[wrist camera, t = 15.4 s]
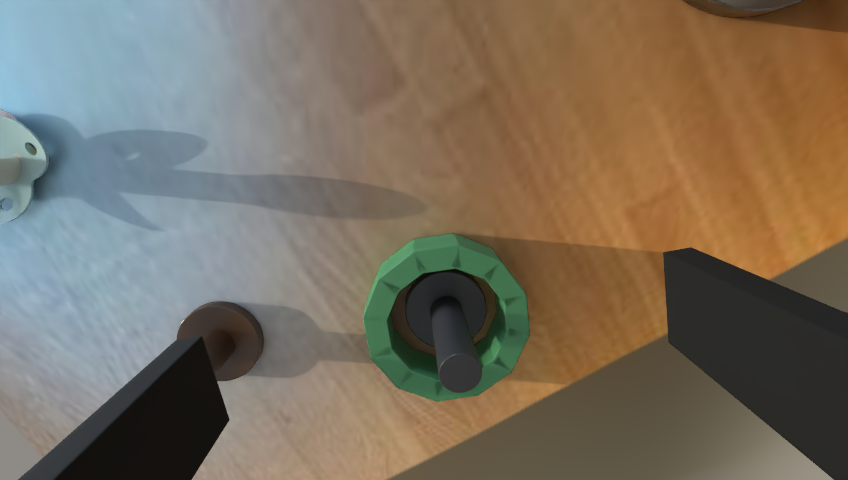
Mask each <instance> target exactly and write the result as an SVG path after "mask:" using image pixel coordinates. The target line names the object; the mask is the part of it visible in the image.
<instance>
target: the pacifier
mask: <svg viewBox="0 0 848 480" xmlns="http://www.w3.org/2000/svg"><path fill="white" fill-rule="evenodd" d="M29 143H31V144H33V145H34V146H35V148H36V150H37V152H36V151H35V149H34V148H33V147H32V146H31V145H29ZM48 166H49V155H48V152H47V150H46V147H45V146H44V144H43V142H42V141H41V140H40V139H39V137H38V136H37V135H36V134H35V133H34V132H33V131H31V130H30V129H29V128H28V127H26V126H25V125H23V124H22V123H20V122H19V121H18V120H17V119H16V118H15V117H13V116H12V115H11V114H10V113H8V112H5V111H2V110H0V224H2V223H6V222H9V221H12V220H14V219H16V218H18V217H19V216H21V215H22V214H23V213H24V212H25V211H26V210H27V209H28V207H29V206H30V204H31V202H32V199H33V194H34V187H33V184H34V181H35V180H36V179H37V178H39V177H41V176H42V175H43V174H44V173H45V172H46V170H47V169H48ZM6 198H9V199H11V200H12V202H13V205H12V207H11V209H10V210H8V211H6V210H4V209H3V208H2V202H3V200H4V199H6Z"/></svg>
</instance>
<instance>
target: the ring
mask: <svg viewBox="0 0 848 480" xmlns="http://www.w3.org/2000/svg"><path fill="white" fill-rule="evenodd" d="M450 269H458V270H461V271H464V272H466V273H469V274H472V275H474V276H477V277H479V278H482V279H485V280H486V281H487V283H488V284H489V285H490V287H491V288H492V289H493V290H494V292H495V300H496V309H497V313H496V315H495V318H494V320H493V322H492V324H491V326H490V328H489V331H488V333H487V335H486V337H485V338H483V339H482V340H480V341H479V342H478V343H476V344H475V345H474V346H475V349H476V352H477V355H478V358H479V361H480V364H481V367H482V377H481V380H480V382H479V383H478V385H477V386H476V387H475V388H473V389H472V390H470V391H467V392H464V393H456V392H452V391H450V390H448V389H446V388H445V387H444V386H443V385H442V383H441V382H440V379H439V374H438V367H437V360H436V357H435V356H432V355H430V354H427V353H424V352H421V351H418V350H415V349H412V348H410V346H409V345H408V344H407V343H406V342H405V341H404V339H403V338H402V337H401V336H400V335H399V334H398V333H397V331H396V330H395V329H394V328H393V322H392V317H391V310H392V307H393V305H394V303H395V300H396V298H397V295H398V293H399V292H400V291H401V290H402V289H404V288H405V287H406V286H408V285H409V284H410V283H412V282H413V281H414V280H415V279H417V278H418V277H419V276H421V275H422V274H423V273H429V272H436V271H443V270H450ZM363 321H364V327H365V332H366V338H367V343H368V349H369V354H370V358H371V359H372V360H373V361H374V363H375V364H376V365H377V366H378V367H379V368H380V369H381V370H382V371H383V373H384V374H385V375H386V376H387V377H388V378H389V379H390V380H391V381H392V383H393V384H394V385H395V386H396V387H397V388H399V389H402V390H405V391H408V392H411V393H414V394H417V395H420V396H422V397H425V398H428V399H431V400H434V401H443V400H450V399H457V398H464V397H470V396H477V395H479V394H481V393H482V392H484V391H485V390H486V389H488V388H489V387H491V386H492V385H493V384H495V383H496V382H498V381H499V380H501V379H502V378H503V377H505V376H506V375H508V374H509V373H510V372H512V371H513V368H514V366H515V364H516V362H517V360H518V358H519V356H520V354H521V352H522V350H523V348H524V346H525V344H526V342H527V340H528V338H529V336H530V329H529V319H528V308H527V297H526V293H525V291H524V290H523V289H522V287H521V286H520V285H519V283H518V282H517V281H516V279H515V278H514V277H513V276H512V274H511V273H510V272H509V270H508V269H507V268H506V266H505V265H504V264H503V263H502V261H501V260H500V259H499V257H498V256H497V255H496V254H495V252H494V251H493V250H492V248H490V247H488V246H485V245H483V244H480V243H478V242H475V241H472V240H470V239H467V238H465V237H462V236H460V235H457V234H454V233H451V234H445V235H438V236H431V237H424V238H417V239H413V240H411V241H410V242H409V243H408V244H406V245H405V246H404V247H402V248H401V249H400V250H399V251H397V252H396V253H395V254H393V255H392V256H391V257H389V258H388V259H387V260H386V261H384V262H383V263H382V264H381V266H380V268H379V271H378V273H377V276H376V278H375V281H374V283H373V286H372V288H371V291H370V293H369V296H368V298H367V302H366V307H365V311H364V315H363Z"/></svg>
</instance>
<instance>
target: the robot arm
mask: <svg viewBox="0 0 848 480" xmlns="http://www.w3.org/2000/svg"><path fill="white" fill-rule="evenodd" d="M683 1H685V2H686V3H688V4H690V5H691V6H693V7H695V8H697V9H699V10H702V11H705V12H707V13H711V14H715V15H719V16H726V17H748V16H755V15H760V14H764V13H768V12H771V11H774V10H777V9H780V8H783V7H786V6H789V5H792V4H795V3H798V2H800V1H803V0H683ZM663 255H664V272H665V288H666V305H667V322H668V338H669V343H670V344H671V345H673V346H674V347H675V348H676V349H678V350H679V351H680V352H681V353H682V354H683V355H685V356H686V357H687V358H688V359H689V360H691V361H692V362H693V363H694V364H695V365H697V366H698V367H699V368H701V369H702V370H703V371H704V372H705V373H706V374H707V375H709V376H710V377H711V378H713V379H714V380H715V381H716V382H717V383H718V384H720V385H721V386H722V387H723V388H724V389H726V390H727V391H728V392H729V393H730V394H732V395H733V396H734V397H735V398H736V399H738V400H739V401H740V402H741V403H742V404H744V405H745V406H746V407H747V408H748V409H750V410H751V411H752V412H753V413H754V414H756V415H757V416H758V417H759V418H760V419H762V420H763V421H764V422H765V423H767V424H768V425H769V426H770V427H771V428H773V429H774V430H775V431H776V432H777V433H779V434H780V435H781V436H782V437H783V438H785V439H786V440H787V441H788V442H789V443H791V444H792V445H793V446H794V447H795V448H797V449H798V450H799V451H800V452H801V453H803V454H804V455H805V456H806V457H807V458H809V459H810V460H811V461H813V463H815V464H816V465H817V466H818V467H820V468H821V469H822V470H823V471H824V472H826V473H827V474H828V475H829V476H830V477H832V478H833V479H834V480H848V313H846V312H842V311H840V310H838V309H835V308H833V307H831V306H828V305H826V304H823V303H821V302H819V301H816V300H814V299H812V298H809V297H807V296H805V295H802V294H800V293H798V292H795V291H793V290H790V289H788V288H786V287H783V286H781V285H779V284H776V283H773V282H771V281H769V280H767V279H764V278H762V277H760V276H757V275H755V274H752V273H750V272H748V271H745V270H743V269H741V268H738V267H736V266H734V265H731V264H729V263H726V262H724V261H722V260H719V259H717V258H715V257H712V256H710V255H707V254H705V253H703V252H700V251H698V250H696V249H693V248H685V249H680V250H674V251H669V252H663ZM228 421H229V417H228V414H227V411H226V408H225V405H224V401H223V398H222V395H221V392H220V389H219V386H218V383H217V380H216V377H215V374H214V371H213V368H212V364H211V361H210V358H209V355H208V352H207V349H206V346H205V343H204V340H203V337H202V336H198V337H193V338H187V339H182V340H176V341H175V342H174V343H172V344H171V345H170V346H169V347H168V348H167V349H166V350H165V351H163V352H162V353H161V354H160V355H159V356H158V357H157V358H156V359H154V360H153V361H152V362H151V363H150V364H149V365H148V366H146V367H145V368H144V369H143V370H142V371H141V372H140V373H139V374H137V375H136V376H135V377H134V378H133V379H132V380H131V381H129V382H128V383H127V384H126V385H125V386H124V387H123V388H122V389H120V390H119V391H118V392H117V393H116V394H115V395H114V396H113V397H111V398H110V399H109V400H108V401H107V402H106V403H105V404H103V405H102V406H101V407H100V408H99V409H98V410H97V411H96V412H94V413H93V414H92V415H91V416H90V417H89V418H88V419H86V420H85V421H84V422H83V423H82V424H81V425H80V426H79V427H77V428H76V429H75V430H74V431H73V432H72V433H71V434H69V435H68V436H67V437H66V438H65V439H64V440H63V441H62V442H60V443H59V444H58V445H57V446H56V447H55V448H54V449H53V450H51V451H50V452H49V453H48V454H47V455H46V456H45V457H43V458H42V459H41V460H40V461H39V462H38V463H37V464H36V465H34V466H33V467H32V468H31V469H30V470H29V471H28V472H26V473H25V474H24V475H23V476H22V477H21V478H20V479H19V480H191V479H192V478H193V476H194V475H195V473H196V472H197V470H198V468H199V467H200V465H201V464H202V462H203V461H204V459H205V457H206V456H207V454H208V453H209V451H210V450H211V448H212V446H213V445H214V443H215V442H216V440H217V439H218V437H219V435H220V434H221V432H222V431H223V429H224V428H225V426H226V424H227V423H228Z"/></svg>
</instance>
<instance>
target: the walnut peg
mask: <svg viewBox="0 0 848 480" xmlns="http://www.w3.org/2000/svg"><path fill="white" fill-rule="evenodd" d="M198 336H202V337H203V340H204V343H205V346H206V349H207V352H208V355H209V358H210V361H211V364H212V368H213V371H214V374H215V377H216V380H217V381H228V380H233V379H236V378H239V377H241V376H243V375H244V374H246V373H247V372H248V371H249V370H250V369H251V368H252V367H253V366H254V364H255V363H256V361H257V360H258V358H259V357H260V354H261V352H262V349H263V333H262V330H261V327H260V325H259V323H258V322H257V320H256V319H255V318H254V317H253V315H252V314H250V313H249V312H248V311H247V310H245V309H244V308H242V307H240V306H238V305H236V304H232V303H228V302H212V303H207V304H205V305H202V306H200V307H198V308H197V309H196V310H194V311H193V312H192V313H191V314H190V315H188V316H187V317H186V318H185V319H184V321H183V322H182V324H181V325H180V328H179V330H178V334H177V340H182V339H187V338H193V337H198Z"/></svg>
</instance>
